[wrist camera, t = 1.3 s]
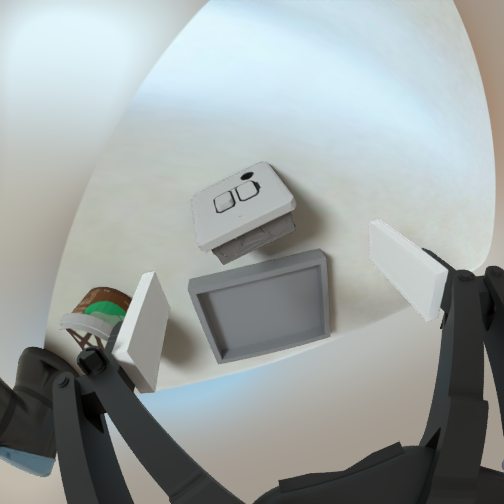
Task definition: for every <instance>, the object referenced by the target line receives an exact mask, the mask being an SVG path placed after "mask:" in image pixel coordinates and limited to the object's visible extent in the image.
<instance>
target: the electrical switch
mask: <svg viewBox="0 0 504 504" xmlns="http://www.w3.org/2000/svg"><path fill="white" fill-rule="evenodd" d="M191 203H192V212H193V220H194V228H195V235H196V243H197V245H198V247H199V248H200V250H201V251H203V252H204V253H206V252H208V251H210V250H212V252H213V254H215V255H216V256H217V257H218V258H219V260H220V261H221V263H222V264H223V265H225V264H227V263H229V262H231V261H233V260H235V259H237V258H239V257H241V256H243V255H245V254H247V253H249V252H251V251H253V250H256V249H258V248H260V247H262V246H264V245H266V244H268V243H270V242H272V241H274V240H276V239H278V238H280V237H282V236H285V235H287V234H289V233H291V232H293V231H295V230H296V229H295V225H294V223H293V221H292V215H291V213H290V211H292V210H294V209H295V207H296V205H297V203H296V201H295V199H294V196H293V195H292V194H291V192H290V191H289V190H288V189H287V187H286V186H285V185H284V183H283V182H282V181H281V179H280V178H279V177H278V176H277V174H276V173H275V172H274V170H273V169H272V168H271V167H270V165H269V164H268V163H267V162H260V163H258V164H256V165H254V166H251V167H249V168H247V169H245V170H243V171H241V172H239V173H237V174H235V175H233V176H231V177H229V178H227V179H225V180H223V181H221V182H219V183H217V184H215V185H213V186H211V187H209V188H207V189H205V190H204V191H202V192H200V193H198V194H196V195H194V196H193V198H192V199H191ZM258 227H259V228H258ZM261 228H262V230H263V231H264V233H263V232H261ZM283 231H284V232H283ZM234 238H237V239H234ZM243 239H245V241H244V240H243ZM242 245H243V246H242Z"/></svg>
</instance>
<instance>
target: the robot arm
mask: <svg viewBox="0 0 504 504" xmlns="http://www.w3.org/2000/svg"><path fill="white" fill-rule="evenodd" d="M369 261H370V262H371V263H372V264H373V265H374V266H375V267H376V268H377V269H378V270H379V271H380V272H381V273H382V274H383V275H384V276H385V277H386V278H387V279H388V280H389V282H390V283H391V284H392V285H393V286H394V287H395V288H396V289H397V290H398V291H399V292H400V293H401V294H402V295H403V296H404V298H405V299H406V300H407V301H408V302H409V303H410V304H411V305H412V306H413V307H414V308H415V310H416V311H417V312H418V313H419V314H420V315H421V316H422V318H423V319H424V320H425V321H426V322H429V321H431V320H433V319H435V318H437V317H438V315H439V311H440V307H441V309H442V310H443V311H444V312H445V313H444V316H443V320H442V323H441V327H440V329H442V340H441V349H440V357H439V365H438V372H437V378H436V384H435V390H434V395H433V400H432V404H431V409H430V413H429V418H428V421H427V425H426V429H425V432H424V435H423V437H422V439H421V441H420V444H419V446H404V447H402V446H401V444H400V442H397V443H395V444H393V445H390V446H388V447H386V448H383V449H381V450H379V451H377V452H374V453H372V454H370V455H369V456H367V457H366V458H364V459H363V460H361V461H360V462H358V463H356V464H355V465H353V466H351V467H350V468H348V469H346V470H344V471H339V472H326V473H310V474H306V475H301V476H298V477H293V478H288V479H283V480H279V486H278V487H275V488H273V489H271V490H270V491H268V492H266V493H265V494H263V495H262V496H261V497H259V498H258V499H257V500H256V501H255V502H254V503H253V504H504V473H503V472H499V471H496V470H492V469H489V468H485V467H482V466H480V464H481V459H482V454H483V449H484V443H485V436H486V429H487V419H488V409H489V407H488V401H485V400H483V387H484V386H483V385H484V344H485V347H486V351H487V354H488V358H489V361H490V365H491V369H492V373H493V378H494V382H495V387H496V391H497V396H498V402H499V407H500V414H501V421H502V429H503V435H504V270H503V269H501V268H500V267H497V266H489V267H487V268H486V271H485V275H484V276H475V275H474V274H473V273H472V272H470V271H468V270H457V271H456V270H455V269H454V268H453V267H451V266H450V265H449V264H447V263H446V262H445V261H444V260H442V259H441V258H440V257H437V255H436V254H434V253H433V252H432V251H430V250H427V249H424V248H419V247H418V246H416V245H415V244H414V243H412V242H411V241H410V240H408V239H407V238H405V237H404V236H403V235H401V234H400V233H398V232H397V231H396V230H394V229H393V228H391V227H390V226H388V225H387V224H386V223H384V222H383V221H381V220H380V219H378V220H373V221H369ZM169 312H170V306H169V304H168V302H167V299H166V297H165V295H164V292H163V290H162V288H161V285H160V283H159V280H158V278H157V276H156V273H155V271H153V272H148V273H144V274H143V275H142V278H141V280H140V282H139V285H138V287H137V289H136V292H135V294H134V296H133V299H132V301H131V304H130V306H129V309H128V311H127V314H126V316H125V319H124V321H119V322H118V323H117V324H116V325H115V326H114V327H113V329H112V331H111V333H110V337H109V338H108V342H107V343H106V346H105V349H104V351H102V350H101V348H100V347H99V346H95V345H94V346H89V347H87V348H85V349H84V350H83V351H82V352H81V353H80V354H79V355H78V358H77V364H78V365H79V367H80V368H81V369H82V371H83V372H84V373H85V374H86V375H83V376H79V375H78V374H77V372H76V371H75V370H74V369H73V368H72V367H71V366H70V365H69V364H68V363H66V362H65V361H64V360H62V359H61V358H60V357H58V356H56V355H55V354H53V353H51V352H49V351H47V350H45V349H42V348H38V347H28V348H26V349H25V350H24V351H23V353H22V355H21V356H20V358H19V362H18V369H17V375H16V383H15V386H14V388H13V390H12V389H11V388H10V387H9V386H8V385H7V384H6V383H5V382H4V381H3V380H2V379H1V378H0V459H2V460H4V461H6V462H7V463H9V464H11V465H13V466H15V467H17V468H19V469H21V470H23V471H26V472H28V473H31V474H33V475H36V476H40V477H47V476H49V475H50V474H51V471H52V468H53V465H54V462H55V461H56V459H55V457H56V453H57V454H58V460H59V466H60V472H61V477H62V482H63V487H64V491H65V495H66V500H67V503H68V504H134V502H133V500H132V498H131V495H130V493H129V490H128V488H127V486H126V483H125V480H124V477H123V475H122V472H121V469H120V466H119V463H118V460H117V458H116V455H115V451H114V448H113V445H112V442H111V438H110V435H109V431H108V428H107V424H106V420H105V416H104V413H108V415H109V417H110V418H111V420H112V422H113V423H114V425H115V426H116V428H117V429H118V431H119V432H120V434H121V435H122V437H123V438H124V440H125V441H126V443H127V444H128V446H129V447H130V449H131V450H132V451H133V453H134V454H135V456H136V457H137V458H138V459H139V461H140V462H141V464H142V465H143V466H144V467H145V469H146V470H147V471H148V472H149V474H150V475H151V476H152V477H153V479H154V480H155V481H156V482H157V483H158V485H159V486H160V487H161V488H162V489H163V490H164V491H165V493H166V494H167V495H168V496H169V501H170V503H171V504H245V503H244V502H243V501H241V500H240V499H239V498H237V497H236V496H235V495H233V494H232V493H231V492H229V491H228V490H227V489H226V488H224V487H223V486H222V485H221V484H220V483H219V482H217V481H216V480H215V479H214V478H213V477H211V475H209V474H208V473H207V472H206V471H205V470H204V469H203V468H202V467H201V466H199V465H198V464H197V463H196V462H195V461H194V460H193V459H192V458H191V457H190V456H189V455H188V454H187V453H186V452H185V451H184V450H183V449H182V448H181V447H180V446H179V445H178V444H177V443H176V442H175V441H174V440H173V439H172V437H171V436H170V435H169V434H168V433H167V432H166V431H165V430H164V429H163V428H162V427H161V425H160V424H159V423H158V422H157V421H156V420H155V419H154V417H153V416H152V415H151V414H150V413H149V411H148V410H147V409H146V408H145V407H144V405H143V404H142V403H141V402H140V401H139V399H138V398H137V397H136V395H135V394H134V388H135V387H136V388H137V389H138V391H139V392H140V393H152V392H155V389H156V383H157V376H158V370H159V364H160V358H161V353H162V347H163V342H164V337H165V331H166V326H167V321H168V316H169ZM483 341H484V342H483ZM502 468H503V470H504V460H503V462H502Z"/></svg>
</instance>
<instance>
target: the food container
mask: <svg viewBox="0 0 504 504" xmlns="http://www.w3.org/2000/svg"><path fill="white" fill-rule="evenodd" d="M131 301H132V300H131V299H130V298H129V297H128V296H127V295H125V294H124V293H122V292H120V291H118V290H116V289H113V288H109V287H97V288H94V289H91V290H90V291H89V293H88V294H87V295H86V296H85V297H84V298H83V300H82V301H81V302H80V303H79V304H78V306H77V307H76V308H75V309H74V310H73V312H72V313H69V314H65V315H63V316H62V319H61V322H60V325H61V326H60V328H59V330H61V329H66V330H67V331H68V332H69V333H70V334H71V335H72V337H73V338H74V339H75V340H76V342H77V343H78V344H79V346H80V347H81V349H82V350H84V349H85V348H87V347H89V346H94V345H95V346H99V347H100V348H101V350H102V351H104V349H105V346H106V343H107V342H108V338H109V337H110V333H111V331H112V329H113V327H114V326H115V325H116V324H117V323H118V322H119V321H124V319H125V316H126V314H127V311H128V309H129V306H130V304H131Z"/></svg>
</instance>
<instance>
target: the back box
mask: <svg viewBox="0 0 504 504" xmlns="http://www.w3.org/2000/svg"><path fill="white" fill-rule="evenodd" d="M188 292H189V294H190V297H191V300H192V302H193V305H194V307H195V310H196V312H197V315H198V317H199V320H200V322H201V325H202V327H203V330H204V332H205V335H206V337H207V339H208V342H209V344H210V347H211V349H212V351H213V353H214V356H215V358H216V360H217V363H218V364H222V363H227V362H232V361H237V360H242V359H247V358H251V357H256V356H260V355H264V354H269V353H273V352H277V351H281V350H285V349H289V348H292V347H296V346H300V345H304V344H307V343H311V342H314V341H318V340H321V339H324V338H328V337H330V313H329V293H328V276H327V263H326V256H325V255H324V254H323V253H322V251H321V250H320V249H315V250H311V251H307V252H303V253H299V254H295V255H291V256H287V257H282V258H278V259H274V260H270V261H266V262H262V263H257V264H253V265H249V266H245V267H241V268H236V269H232V270H228V271H224V272H219V273H215V274H211V275H206V276H202V277H198V278H193V279H189V285H188Z"/></svg>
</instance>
